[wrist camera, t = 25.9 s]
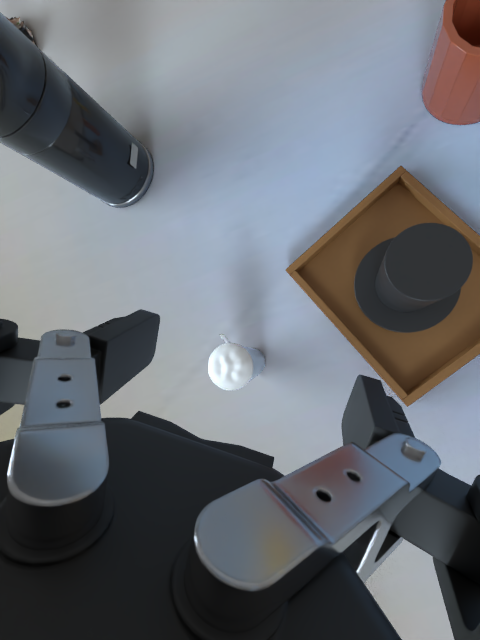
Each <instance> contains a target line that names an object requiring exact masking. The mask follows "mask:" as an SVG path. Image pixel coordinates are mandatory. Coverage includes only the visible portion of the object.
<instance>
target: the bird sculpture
mask: <svg viewBox="0 0 480 640" xmlns="http://www.w3.org/2000/svg"><path fill="white" fill-rule="evenodd" d="M6 18H7V17H6ZM19 18H20V17H19ZM19 18H16V17H14V18H11V19H8V18H7V19H8V20H9V21H10V22H11V23H12V24H13V25H14V26H15V27H17V28H18V29H19V30H20V31H21V32H22V33H23V34H24V35H25V36H26V37H27V38H28V39H29V40H31V41H32V42H33V43H35V42H34V40H33V35H32V34H31V31H29V29H28V28H27V27H26V26H24V21H23V22H20V19H19ZM35 45H36V44H35Z"/></svg>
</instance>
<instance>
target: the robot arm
mask: <svg viewBox="0 0 480 640" xmlns="http://www.w3.org/2000/svg"><path fill="white" fill-rule="evenodd" d="M0 143H2V144H3V145H5V146H7V147H9V148H10V149H12V150H14V151H16V152H17V153H20V154H21V155H23V156H25V157H27V158H28V159H30V160H32V161H34V162H35V163H37V164H39V165H41V166H42V167H44V168H46V169H48V170H50V171H51V172H53V173H55V174H57V175H58V176H60V177H62V178H64V179H65V180H67V181H69V182H71V183H72V184H74V185H76V186H78V187H79V188H81V189H83V190H85V191H86V192H88V193H90V194H92V195H93V196H95V197H97V198H99V199H100V200H101V201H103V202H104V203H106V204H108V205H110V206H112V207H117V208H121V207H127V206H130V205H132V204H134V203H135V202H137V201H138V200H139V199H140V198H141V197H142V196H143V195H144V194H145V192H146V191H147V189H148V187H149V185H150V183H151V180H152V176H153V161H152V157H151V155H150V153H149V151H148V150H147V148H146V147H145V146H144V145H142V144H141V143H140V142H139V141H138V140H136V139H135V138H134V137H133V136H132V135H131V134H130V133H129V132H128V131H127V130H126V129H124V128H123V127H122V126H121V125H120V124H119V123H118V122H117V121H116V120H115V119H114V118H113V117H112V116H111V115H110V114H108V113H107V112H106V111H105V110H104V109H103V108H102V107H101V106H100V105H99V104H98V103H97V102H96V101H95V100H94V99H92V98H91V97H90V96H89V95H88V94H87V93H86V92H85V91H84V90H83V89H82V88H81V87H80V86H79V85H77V84H76V83H75V82H74V81H73V80H72V79H71V78H70V77H69V76H68V75H67V74H66V73H65V72H64V71H62V70H61V69H60V68H59V67H58V66H57V65H56V64H55V63H54V62H53V61H52V60H51V59H49V58H48V57H47V56H46V55H45V54H44V53H43V52H42V51H41V50H40V49H39V48H38V47H37V46H36V45H35V44H34V43H33V42H32V41H31V40H29V39H28V38H27V37H26V36H25V35H24V34H23V33H22V32H21V31H20V30H19V29H18V28H17V27H15V26H14V25H13V24H12V23H11V22H10V21H9V20H8V19H7V18H6V17H5V16H4V15H3V14H2V13H1V12H0ZM159 324H160V316H159V315H158V314H155V313H152V312H148V311H145V310H142V309H141V310H138V311H136V312H134V313H132V314H130V315H128V316H126V317H120V318H113V319H111V320H109V321H107V322H105V323H103V324H100V325H98V326H96V327H94V328H92V329H90V330H87V331H85V332H83V333H82V332H79V331H74V330H53V331H49V332H46V333H45V334H43V335H42V336H41V340H40V341H39V340H32V339H25V338H18V325H17V324H16V323H14V322H12V321H9V320H5V319H0V415H1V414H3V413H4V412H6V411H7V410H9V409H10V408H12V407H13V406H14V405H15V404H22V405H24V409H23V414H22V419H21V424H20V428H18V429H17V431H16V435H15V439H11V440H7V441H3V442H0V640H402V639H401V638H400V636H399V635H398V633H397V632H396V630H395V629H394V627H393V626H392V624H391V623H390V622H389V620H388V619H387V617H386V616H385V614H384V613H383V611H382V610H381V608H380V607H379V605H378V604H377V602H376V601H375V599H374V598H373V596H372V595H371V593H370V592H369V590H368V589H367V587H366V586H365V584H364V583H365V582H366V581H367V579H368V578H369V577H370V576H371V574H372V573H373V572H374V571H375V570H376V569H377V568H378V567H379V566H380V565H381V564H382V563H383V562H384V561H385V559H386V558H387V557H388V556H389V555H390V554H391V553H392V552H393V551H394V550H395V549H396V548H397V547H398V546H399V545H400V543H401V542H402V541H403V539H405V540H407V541H409V542H410V543H412V544H413V545H415V546H417V547H418V548H420V549H422V550H423V551H425V552H426V553H428V554H430V555H431V556H433V562H434V566H435V570H436V574H437V577H438V581H439V585H440V588H441V592H442V595H443V599H444V603H445V606H446V610H447V614H448V617H449V621H450V625H451V628H452V632H453V636H454V639H455V640H480V475H478V476H477V477H476V478H475V480H474V482H473V484H472V485H469V484H467V483H465V482H463V481H461V480H459V479H457V478H455V477H453V476H451V475H449V474H447V473H445V472H444V471H442V470H440V469H439V467H440V465H441V460H440V458H439V456H438V455H437V453H436V452H435V451H434V450H433V449H432V448H431V447H429V446H428V445H427V444H425V443H424V442H422V441H420V440H418V439H416V438H415V436H414V434H413V432H412V430H411V428H410V425H409V423H408V421H407V419H406V416H405V414H404V412H403V410H402V407H401V406H400V405H399V404H398V403H397V402H396V401H395V400H394V399H393V398H392V397H389V396H386V394H385V391H384V388H383V386H382V383H381V381H380V380H377V379H374V378H370V377H367V376H363V375H359V376H358V377H357V379H356V381H355V384H354V387H353V389H352V392H351V395H350V398H349V400H348V403H347V406H346V408H345V411H344V414H343V419H342V436H343V445H344V446H342V447H340V448H338V449H336V450H334V451H332V452H330V453H328V454H326V455H325V456H323V457H321V458H319V459H317V460H315V461H313V462H311V463H309V464H307V465H305V466H303V467H301V468H299V469H297V470H295V471H294V472H292V473H290V474H288V475H286V476H284V475H283V474H281V473H280V472H278V471H277V470H275V469H273V468H272V467H273V462H274V457H272V456H269V455H266V454H263V453H260V452H257V451H254V450H252V449H249V448H246V447H243V446H240V445H234V444H228V443H222V442H216V441H209V440H204V439H201V438H198V437H197V436H195V435H193V434H191V433H190V432H188V431H186V430H184V429H182V428H181V427H179V426H177V425H175V424H174V423H172V422H170V421H167V420H164V419H161V418H158V417H155V416H152V415H149V414H146V413H144V412H141V411H138V412H137V413H136V414H135V415H134V416H133V417H132V418H131V419H128V418H101V412H100V405H101V404H102V403H103V402H104V401H105V400H107V399H108V398H109V397H110V396H111V395H113V394H114V393H115V392H116V391H118V390H119V389H120V388H121V387H122V386H124V385H125V384H126V383H127V382H128V381H130V380H131V379H132V378H133V377H135V376H136V375H137V374H138V373H139V372H141V371H142V370H143V369H144V368H145V367H147V366H148V365H149V364H150V362H151V361H152V359H153V356H154V353H155V349H156V342H157V336H158V330H159Z"/></svg>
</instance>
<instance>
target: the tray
mask: <svg viewBox="0 0 480 640" xmlns="http://www.w3.org/2000/svg"><path fill="white" fill-rule="evenodd" d="M422 223H439V224H443V225H447V226H449V227H451V228H453V229H455V230H457V231H458V232H459V233H460V234H462V236H463V237H464V238H465V239H466V240H467V242H468V243H469V245H470V248H471V251H472V255H473V265H472V270H471V273H470V275H469V278H468V279H467V281H466V282H465V284H464V285H463V286H462V287H461V293H460V296H459V299H458V301H457V304H456V306H455V307H454V309H453V310H452V311H451V313H450V314H449V315H448V316H447V317H446V318H445V319H444V320H442V321H441V322H440V323H438V324H437V325H435V326H433V327H431V328H428V329H426V330H423V331H418V332H411V333H400V332H394V331H390V330H387V329H384V328H382V327H380V326H378V325H376V324H375V323H373V322H372V321H371V320H370V319H368V318H367V317H366V316H365V314H364V313H363V312H362V310H361V309H360V307H359V305H358V303H357V301H356V297H355V292H354V279H355V274H356V271H357V268H358V266H359V264H360V262H361V261H362V259H363V258H364V256H365V255H366V254H367V253H368V252H369V251H370V250H371V249H372V248H374V247H375V246H376V245H378V244H380V243H381V242H383V241H386V240H388V239H391V238H394V237H396V236H397V235H398V234H399V233H401V232H402V231H404V230H405V229H407V228H409V227H411V226H414V225H417V224H422ZM286 271H287V273H288V274H289V275H290V276H291V277H292V278H293V279H294V280H295V281H296V283H297V284H298V285H299V286H300V287H301V288H302V289H303V290H304V292H305V293H306V294H307V295H308V296H309V297H310V298H311V299H312V301H313V302H314V303H315V304H316V305H317V306H318V307H319V308H320V309H321V311H322V312H323V313H324V314H325V315H326V316H327V317H328V318H329V320H330V321H331V322H332V323H333V324H334V325H335V326H336V327H337V328H338V330H339V331H340V332H341V333H342V334H343V335H344V336H345V337H346V339H347V340H348V341H349V342H350V343H351V344H352V345H353V346H354V348H355V349H356V350H357V351H358V352H359V353H360V354H361V355H362V356H363V358H364V359H365V360H366V361H367V362H368V363H369V364H370V365H371V367H372V368H373V369H374V370H375V371H376V372H377V373H378V374H379V376H380V377H381V378H382V379H383V380H384V381H385V382H386V383H387V384H388V386H389V387H390V388H391V389H392V390H393V391H394V392H395V393H396V395H397V396H398V397H399V398H400V399H401V400H402V401H403V402H404V403H405V405H406V406H407V407H408V406H409V405H411V404H412V403H413V402H415V401H416V400H417V399H419V398H420V397H422V396H423V395H424V394H426V393H427V392H428V391H430V390H431V389H432V388H434V387H435V386H437V385H438V384H439V383H441V382H442V381H443V380H445V379H446V378H447V377H449V376H450V375H452V374H453V373H454V372H456V371H457V370H458V369H460V368H461V367H462V366H464V365H465V364H467V363H468V362H469V361H471V360H472V359H473V358H475V357H476V356H477V355H479V354H480V236H479V235H478V234H477V233H476V232H475V231H474V230H472V229H471V228H470V227H469V226H468V225H467V224H466V223H465V222H464V221H462V220H461V219H460V218H459V217H458V216H457V215H456V214H455V213H453V212H452V211H451V210H450V209H449V208H448V207H447V206H446V205H445V204H443V203H442V202H441V201H440V200H439V199H438V198H437V197H436V196H434V195H433V194H432V193H431V192H430V191H429V190H428V189H427V188H426V187H424V186H423V185H422V184H421V183H420V182H419V181H418V180H417V179H415V178H414V177H413V176H412V175H411V174H410V173H409V172H408V171H406V169H404V168H403V167H402V166H400V167H399V168H398V169H397V170H395V171H394V172H393V173H392V174H391V175H390V176H389V177H388V178H387V179H385V180H384V181H383V182H382V183H381V184H380V185H379V186H378V187H377V188H375V189H374V190H373V191H372V192H371V193H370V194H369V195H368V196H367V197H365V198H364V199H363V200H362V201H361V202H360V203H359V204H358V205H357V206H356V207H354V208H353V209H352V210H351V211H350V212H349V213H348V214H347V215H346V216H344V217H343V218H342V219H341V220H340V221H339V222H338V223H337V224H336V225H334V226H333V227H332V228H331V229H330V230H329V231H328V232H327V233H326V234H324V235H323V236H322V237H321V238H320V239H319V240H318V241H317V242H316V243H315V244H313V245H312V246H311V247H310V248H309V249H308V250H307V251H306V252H305V253H303V254H302V255H301V256H300V257H299V258H298V259H297V260H296V261H295V262H293V263H292V264H291V265H290V266H289V267H288V268H287V269H286Z"/></svg>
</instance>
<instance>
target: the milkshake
mask: <svg viewBox="0 0 480 640" xmlns="http://www.w3.org/2000/svg"><path fill="white" fill-rule="evenodd" d="M220 337H221V338H222V339H223V340H224V341H225V342H226V344H223V345H220V346H218V347H217V348H216V349H215V350H214V351H213V352H212V354H211V356H210V358H209V363H208V372H209V376H210V378H211V380H212V381H213V383H215V384H216V385H217V386H219V387H220V388H222V389H224V390H229V391H233V390H238V389H240V388H242V387H244V386H245V385H246V384H247V383H248V382H250V381H251V380H252V379H253V378H255V377H256V376H258V375H259V374H260V373H261V372H262V370H263V369H264V367H265V356H264V355H263V354H262V353H261V351H260V350H257V349H254V348H250V347H245V346H242V345H238V344H235V343H230V341H229V340H228V339H227V338H226V336H225V335H224V334H220Z"/></svg>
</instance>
